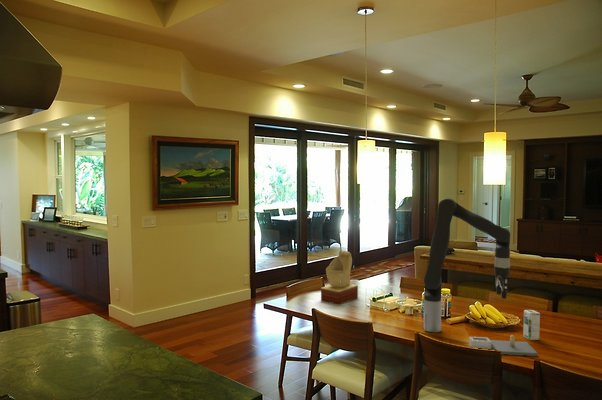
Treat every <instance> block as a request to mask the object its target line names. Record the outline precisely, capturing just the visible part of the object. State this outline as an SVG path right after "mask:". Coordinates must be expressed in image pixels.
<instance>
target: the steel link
mask: <svg viewBox="0 0 602 400" xmlns="http://www.w3.org/2000/svg"><path fill="white" fill-rule="evenodd" d="M468 338H469V339H468V341H469V342H468V345H469V347H470V348H471V347H477V348H487V349H486V350H488V349H491V350H492V346H491V341H490V340H491V339H490V338H489V337H487V336H484V337H483V336H468Z"/></svg>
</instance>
